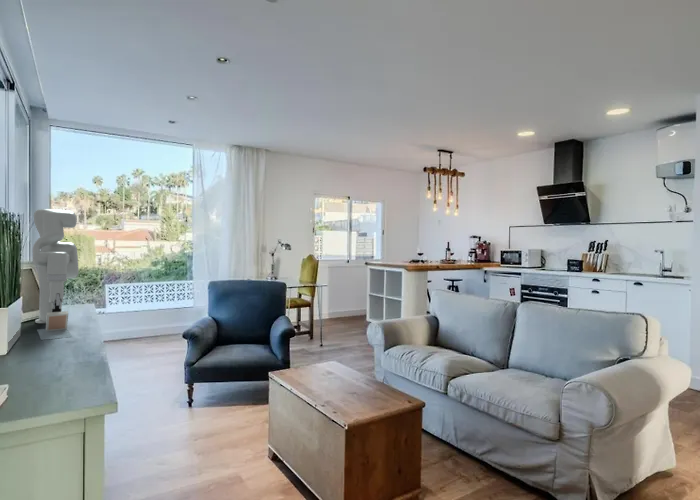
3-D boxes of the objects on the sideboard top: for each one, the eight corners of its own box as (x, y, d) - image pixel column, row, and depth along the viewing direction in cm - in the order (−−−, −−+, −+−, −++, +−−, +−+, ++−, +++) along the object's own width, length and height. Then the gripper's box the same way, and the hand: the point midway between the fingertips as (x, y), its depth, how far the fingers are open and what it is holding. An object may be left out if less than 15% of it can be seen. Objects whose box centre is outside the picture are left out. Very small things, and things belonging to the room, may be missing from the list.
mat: (36, 330, 192) (36, 329, 192) (65, 327, 199) (65, 326, 199) (41, 340, 174) (41, 339, 174) (72, 337, 181) (72, 336, 181)
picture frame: (45, 328, 191) (46, 312, 188) (66, 326, 196) (67, 311, 193) (46, 331, 190) (47, 315, 186) (67, 329, 195) (68, 313, 192)
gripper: (45, 277, 196) (45, 315, 196) (48, 279, 185) (48, 320, 185) (64, 276, 201) (64, 314, 201) (68, 279, 190) (68, 318, 190)
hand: (56, 317), depth 193 cm, fingers closed
